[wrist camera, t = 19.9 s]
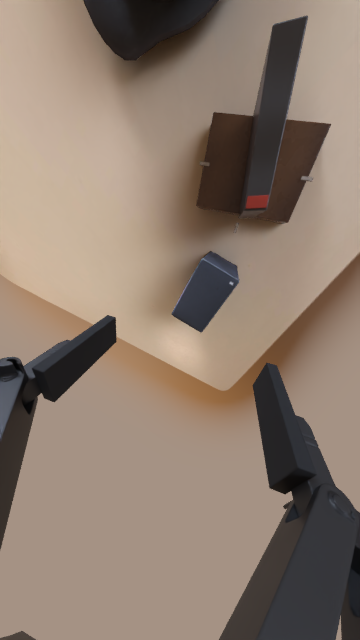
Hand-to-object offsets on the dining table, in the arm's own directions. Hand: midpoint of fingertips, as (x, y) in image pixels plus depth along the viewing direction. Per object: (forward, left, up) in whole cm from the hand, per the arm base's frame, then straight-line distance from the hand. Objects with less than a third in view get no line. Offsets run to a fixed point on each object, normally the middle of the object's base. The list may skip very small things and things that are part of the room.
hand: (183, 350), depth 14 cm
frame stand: (-2, -17, -23) cm, 28 cm away
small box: (0, 0, -23) cm, 23 cm away
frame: (-2, -17, -20) cm, 26 cm away
